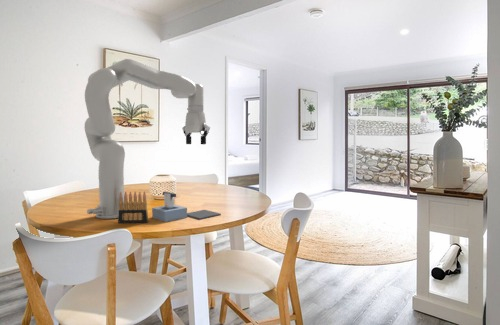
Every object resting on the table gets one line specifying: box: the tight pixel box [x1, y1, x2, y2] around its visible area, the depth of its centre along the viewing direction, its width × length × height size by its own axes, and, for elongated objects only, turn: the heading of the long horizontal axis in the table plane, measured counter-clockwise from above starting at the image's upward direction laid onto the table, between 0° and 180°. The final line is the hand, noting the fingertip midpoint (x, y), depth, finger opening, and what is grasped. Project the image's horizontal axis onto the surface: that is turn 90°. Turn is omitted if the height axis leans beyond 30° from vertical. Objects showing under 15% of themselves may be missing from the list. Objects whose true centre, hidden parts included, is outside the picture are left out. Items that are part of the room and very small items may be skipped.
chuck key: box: [162, 191, 177, 210], centre depth 129 cm, size 4×8×10 cm, turn 46°
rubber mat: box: [187, 209, 222, 221], centre depth 133 cm, size 11×11×1 cm
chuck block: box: [151, 204, 188, 223], centre depth 129 cm, size 10×10×4 cm
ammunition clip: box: [117, 191, 149, 224], centre depth 121 cm, size 11×2×12 cm, turn 95°
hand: (195, 144), depth 158 cm, fingers open, 9 cm apart
